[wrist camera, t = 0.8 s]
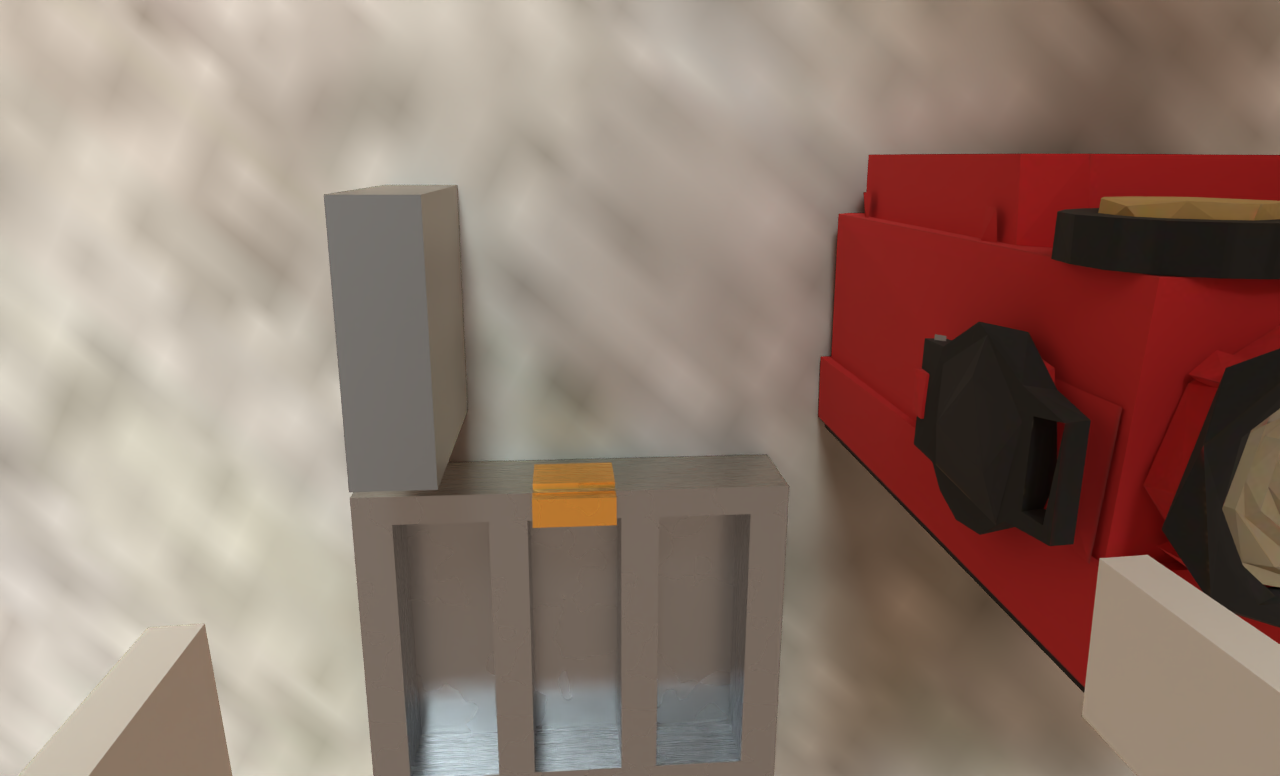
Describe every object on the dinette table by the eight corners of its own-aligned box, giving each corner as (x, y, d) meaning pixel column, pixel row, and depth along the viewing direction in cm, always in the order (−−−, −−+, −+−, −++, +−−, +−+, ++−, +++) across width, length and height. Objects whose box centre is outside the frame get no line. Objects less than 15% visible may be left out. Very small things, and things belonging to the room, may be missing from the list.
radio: (1222, 157, 32) (2227, 158, 13) (1177, 422, 35) (1955, 757, 15) (800, 154, 31) (1209, 150, 11) (786, 430, 33) (1099, 810, 14)
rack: (370, 459, 32) (344, 499, 28) (767, 449, 33) (793, 486, 30) (392, 745, 35) (372, 816, 31) (754, 727, 36) (777, 792, 33)
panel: (385, 184, 30) (323, 194, 22) (457, 184, 30) (421, 194, 22) (400, 410, 32) (349, 492, 24) (468, 409, 32) (437, 490, 24)
